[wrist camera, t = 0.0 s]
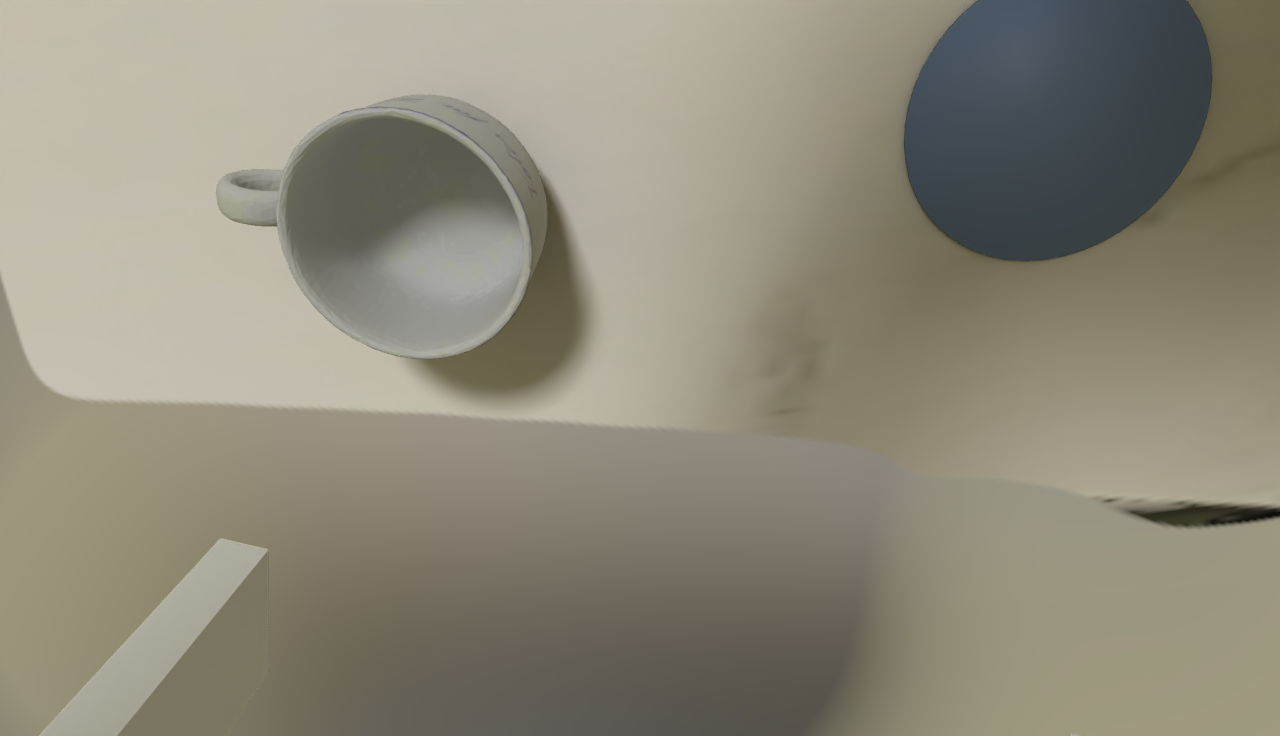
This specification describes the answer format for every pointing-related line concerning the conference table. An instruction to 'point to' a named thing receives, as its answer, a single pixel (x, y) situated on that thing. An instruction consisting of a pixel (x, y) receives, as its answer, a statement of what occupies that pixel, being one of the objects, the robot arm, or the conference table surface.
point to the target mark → (1055, 120)
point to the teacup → (404, 223)
